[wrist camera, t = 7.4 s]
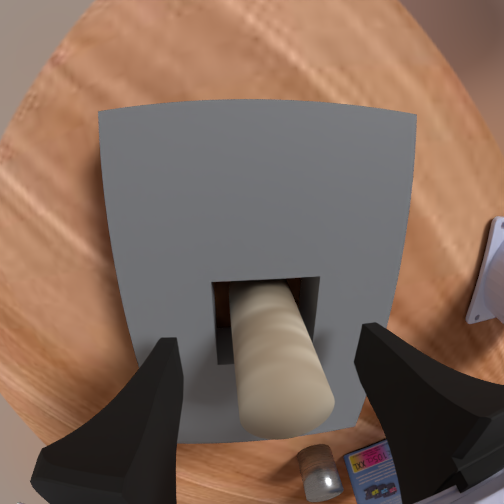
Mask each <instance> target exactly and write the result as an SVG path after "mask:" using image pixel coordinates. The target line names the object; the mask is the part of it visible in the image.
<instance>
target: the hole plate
mask: <svg viewBox="0 0 504 504" xmlns="http://www.w3.org/2000/svg"><path fill="white" fill-rule="evenodd" d="M98 119H99V140H100V155H101V168H102V178H103V188H104V197H105V205H106V213H107V220H108V227H109V234H110V240H111V246H112V252H113V258H114V264H115V269H116V274H117V279H118V284H119V289H120V294H121V299H122V303H123V308H124V312H125V316H126V320H127V324H128V329H129V332H130V336H131V340H132V344H133V348H134V351H135V355H136V359H137V362H138V366H139V368H140V367H141V365H142V364H143V363H144V361H145V360H146V358H147V357H148V355H149V354H150V352H151V351H152V349H153V348H154V346H155V345H156V343H157V342H158V340H159V339H160V338H161V337H177V342H178V347H179V353H180V359H181V364H182V369H183V375H184V390H183V404H182V411H181V418H180V425H179V432H178V439H177V443H187V444H197V443H232V442H248V441H260V440H271V439H264V438H260V437H257V436H254V435H252V434H250V433H249V432H247V431H246V430H245V429H244V428H243V427H242V425H241V423H240V418H239V407H238V397H237V386H236V376H235V364H234V353H233V341H232V329H231V327H224V328H217V322H216V308H215V294H214V282H221V281H243V280H263V279H282V278H300V277H301V283H300V297H299V309H298V310H299V312H300V315H301V317H302V320H303V322H304V324H305V327H306V329H307V332H308V334H309V337H310V339H311V341H312V344H313V346H314V349H315V351H316V354H317V356H318V359H319V361H320V364H321V366H322V369H323V371H324V374H325V376H326V379H327V381H328V384H329V386H330V389H331V391H332V394H333V396H334V400H335V405H334V409H333V411H332V413H331V414H330V416H329V417H328V418H327V420H326V421H325V422H324V423H322V424H321V425H320V426H318V427H317V428H315V429H314V430H312V431H310V432H308V433H306V434H303V435H310V434H317V433H323V432H328V431H334V430H339V429H344V428H349V427H354V426H355V425H356V422H357V420H358V417H359V414H360V412H361V409H362V406H363V403H364V400H365V397H366V393H365V391H364V389H363V387H362V385H361V383H360V380H359V377H358V374H357V371H356V368H355V365H354V358H355V354H356V350H357V346H358V341H359V337H360V332H361V328H362V324H365V323H373V322H376V323H378V324H380V325H381V326H383V327H384V328H386V327H387V323H388V319H389V315H390V311H391V307H392V303H393V298H394V294H395V289H396V285H397V280H398V275H399V270H400V265H401V259H402V254H403V248H404V242H405V236H406V229H407V223H408V215H409V208H410V200H411V191H412V182H413V171H414V159H415V144H416V122H417V115H416V114H411V113H405V112H399V111H393V110H386V109H380V108H372V107H365V106H356V105H347V104H337V103H326V102H313V101H295V100H266V99H231V100H202V101H184V102H171V103H160V104H150V105H141V106H133V107H125V108H118V109H111V110H104V111H98ZM303 435H300V436H303Z"/></svg>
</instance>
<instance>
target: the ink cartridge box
mask: <svg viewBox="0 0 504 504" xmlns="http://www.w3.org/2000/svg"><path fill="white" fill-rule="evenodd" d="M344 460H345V464H346V467H347V471H348V474H349V477H350V481H351V484H352V488H353V491H354V495H355V498H356V501H357V504H402V500H401V494H400V488H399V483H398V478H397V474H396V470H395V466H394V462H393V458H392V455H391V451H390V448H389V445H388V442H387V439H386V440H383V441H381V442H379V443H376V444H374V445H371V446H369V447H366V448H363V449H360V450H358V451H355V452H352V453H349V454H346V455H344Z"/></svg>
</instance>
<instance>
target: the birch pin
mask: <svg viewBox="0 0 504 504" xmlns="http://www.w3.org/2000/svg"><path fill="white" fill-rule="evenodd" d="M229 304H230V317H231V329H232V341H233V353H234V364H235V376H236V386H237V397H238V407H239V418H240V423H241V425H242V427H243V428H244V429H245V430H246V431H247V432H249V433H250V434H252V435H254V436H257V437H260V438H264V439H275V440H278V439H288V438H293V437H297V436H300V435H303V434H306V433H308V432H310V431H312V430H314V429H315V428H317V427H318V426H320V425H321V424H322V423H324V422H325V421H326V420H327V418H328V417H329V416H330V414H331V413H332V411H333V409H334V405H335V400H334V396H333V394H332V391H331V389H330V386H329V384H328V381H327V379H326V376H325V374H324V371H323V369H322V366H321V364H320V361H319V359H318V356H317V354H316V351H315V349H314V346H313V344H312V341H311V339H310V337H309V334H308V332H307V329H306V327H305V324H304V322H303V320H302V317H301V315H300V312H299V310H298V307H297V305H296V303H295V300H294V298H293V295H292V293H291V291H290V288H289V286H288V283H287V281H286V279H285V278H282V279H263V280H243V281H230V284H229Z"/></svg>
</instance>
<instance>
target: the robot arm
mask: <svg viewBox="0 0 504 504" xmlns="http://www.w3.org/2000/svg"><path fill="white" fill-rule="evenodd" d="M492 318H497V319H499V320H500V321H501V322H502V323H503V324H504V217H499V216H497V217H495V218H494V219H493V220H492V223H491V228H490V232H489V237H488V242H487V246H486V250H485V254H484V258H483V262H482V266H481V270H480V274H479V277H478V281H477V284H476V287H475V291H474V294H473V297H472V300H471V303H470V306H469V309H468V312H467V315H466V319H465V320H466V322H467V323H468V324H473V323H477V322H481V321H485V320H488V319H492ZM354 365H355V368H356V371H357V374H358V377H359V380H360V383H361V385H362V387H363V389H364V391H365V393H366V395H367V397H368V399H369V401H370V403H371V405H372V407H373V409H374V411H375V413H376V415H377V417H378V419H379V421H380V423H381V426H382V428H383V430H384V433H385V436H386V439H387V442H388V445H389V448H390V451H391V455H392V458H393V462H394V466H395V470H396V474H397V478H398V483H399V488H400V494H401V500H402V504H504V385H500V384H495V383H491V382H487V381H484V380H480V379H477V378H474V377H471V376H469V375H466V374H463V373H461V372H458V371H456V370H454V369H452V368H449V367H447V366H445V365H443V364H441V363H439V362H437V361H436V360H434V359H432V358H430V357H429V356H427V355H425V354H424V353H422V352H420V351H419V350H417V349H416V348H414V347H412V346H411V345H409V344H408V343H406V342H405V341H403V340H402V339H401V338H399V337H398V336H396V335H395V334H393V333H392V332H390V331H389V330H387V329H386V328H384V327H383V326H381V325H380V324H378V323H376V322H373V323H365V324H362V328H361V332H360V337H359V341H358V346H357V350H356V354H355V358H354ZM183 390H184V375H183V369H182V364H181V359H180V353H179V347H178V342H177V337H161V338H160V339H159V340H158V342H157V343H156V345H155V346H154V348H153V349H152V351H151V352H150V354H149V355H148V357H147V358H146V360H145V361H144V363H143V364H142V365H141V367H140V368H139V369H138V371H137V372H136V373H135V375H134V376H133V377H132V378H131V380H130V381H129V382H128V383H127V384H126V386H125V387H124V388H123V389H122V390H121V391H120V392H119V394H118V395H117V396H116V397H115V398H114V399H113V400H112V401H111V402H110V403H109V404H108V405H107V406H106V407H105V408H103V409H102V410H101V411H100V412H99V413H98V414H96V415H95V416H94V417H93V418H92V419H90V420H89V421H88V422H87V423H85V424H84V425H82V426H81V427H79V428H78V429H77V430H75V431H73V432H72V433H70V434H69V435H67V436H65V437H64V438H62V439H60V440H58V441H56V442H54V443H52V444H50V445H49V446H47V447H45V448H42V450H41V452H40V454H39V456H38V459H37V462H36V465H35V468H34V471H33V474H32V477H31V481H30V482H31V485H32V487H33V488H34V489H35V490H36V492H38V493H39V494H40V495H41V496H42V497H43V498H44V499H45V500H46V501H47V502H49V503H50V504H177V502H176V448H177V439H178V432H179V425H180V418H181V411H182V404H183ZM17 504H24V503H21V502H17Z"/></svg>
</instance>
